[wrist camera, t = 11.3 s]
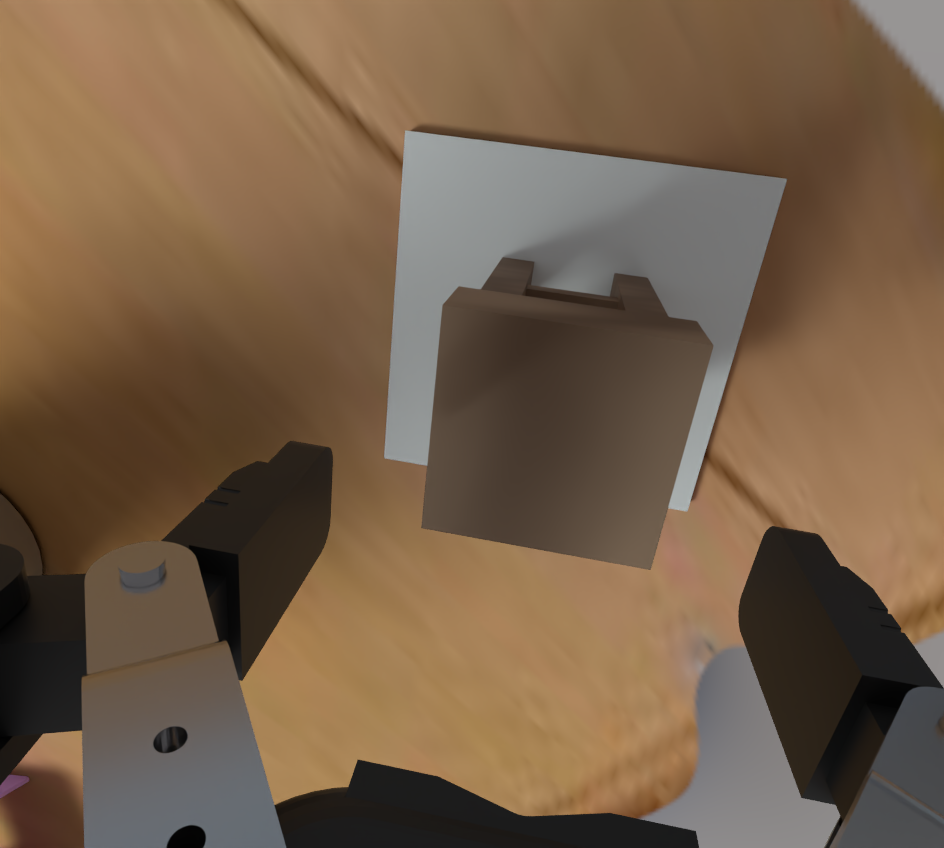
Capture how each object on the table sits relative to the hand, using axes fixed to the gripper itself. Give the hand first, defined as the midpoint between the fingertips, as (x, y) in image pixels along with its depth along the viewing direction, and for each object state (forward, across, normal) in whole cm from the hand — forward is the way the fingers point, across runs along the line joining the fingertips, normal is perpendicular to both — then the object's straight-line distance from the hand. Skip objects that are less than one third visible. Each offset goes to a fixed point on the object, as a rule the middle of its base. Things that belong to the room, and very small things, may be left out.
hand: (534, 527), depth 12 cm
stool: (+12, 0, 0) cm, 12 cm away
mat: (+12, 0, 0) cm, 13 cm away
